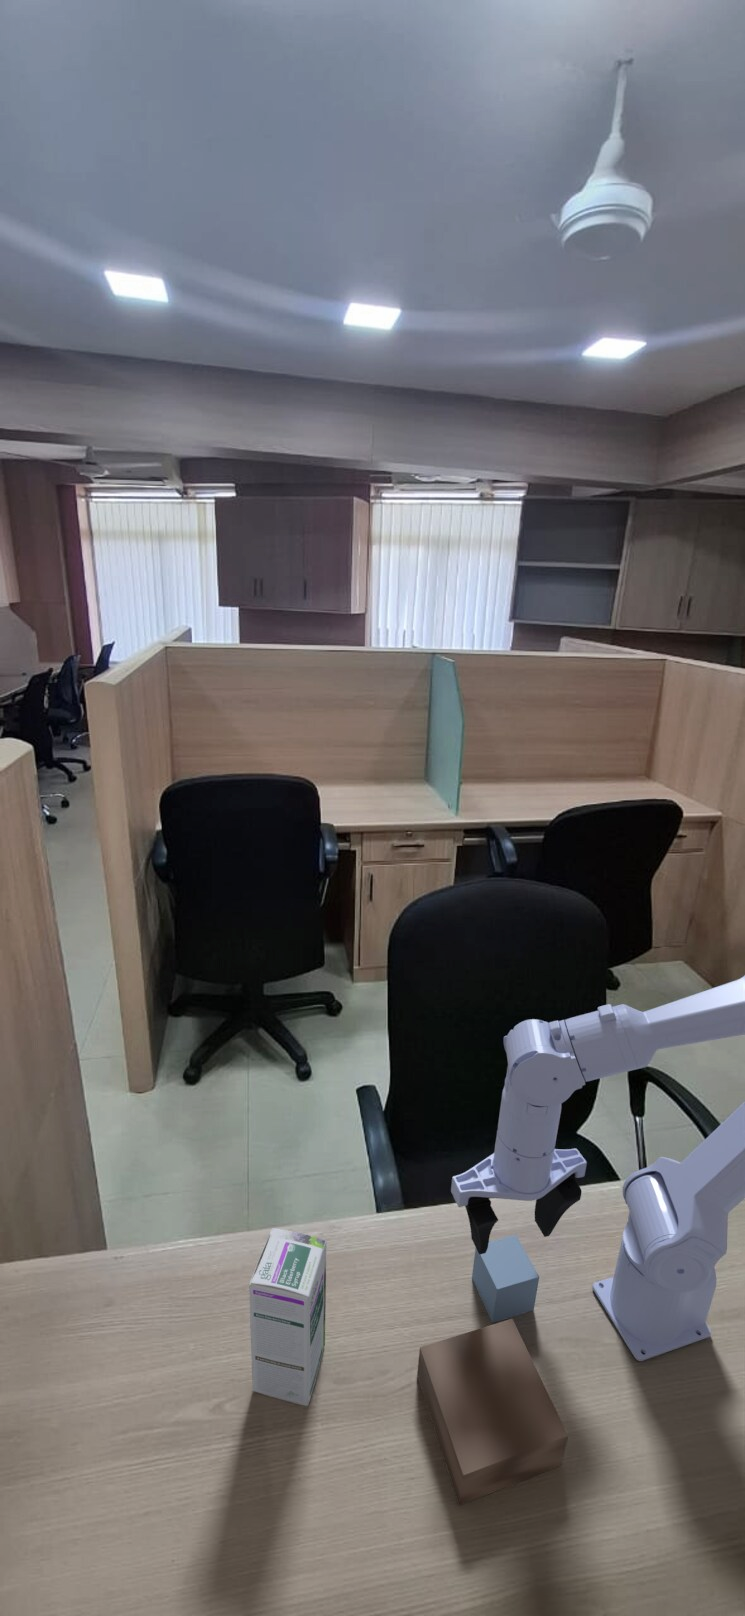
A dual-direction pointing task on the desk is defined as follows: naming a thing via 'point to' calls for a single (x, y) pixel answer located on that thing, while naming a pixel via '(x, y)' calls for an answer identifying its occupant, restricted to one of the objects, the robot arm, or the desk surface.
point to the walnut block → (489, 1410)
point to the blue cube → (505, 1279)
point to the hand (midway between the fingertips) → (510, 1236)
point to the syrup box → (288, 1315)
